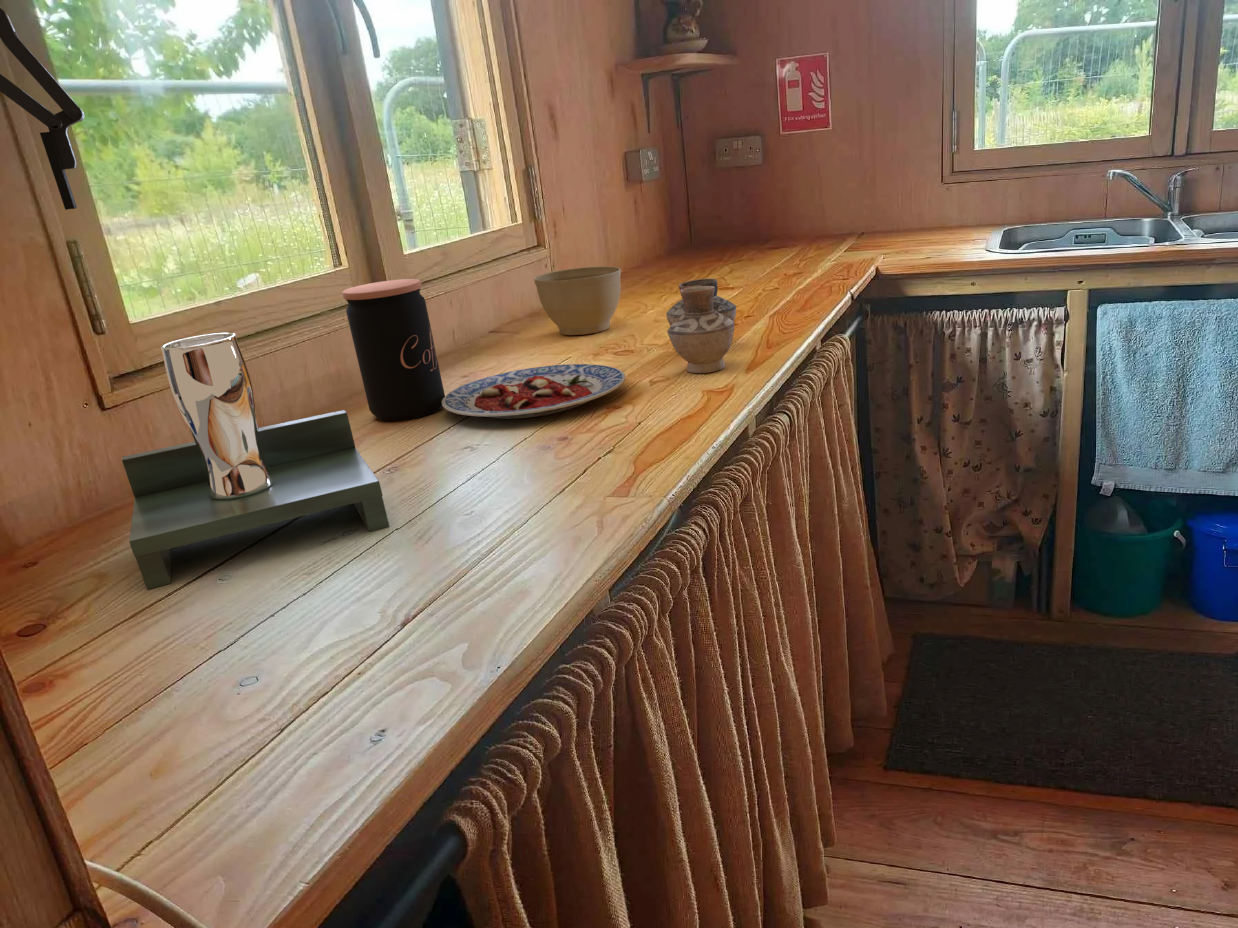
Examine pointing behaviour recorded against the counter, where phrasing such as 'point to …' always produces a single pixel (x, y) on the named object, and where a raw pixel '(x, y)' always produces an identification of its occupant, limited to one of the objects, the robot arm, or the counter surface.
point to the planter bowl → (580, 298)
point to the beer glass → (219, 412)
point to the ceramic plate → (533, 391)
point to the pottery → (701, 325)
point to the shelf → (303, 484)
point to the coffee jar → (395, 349)
